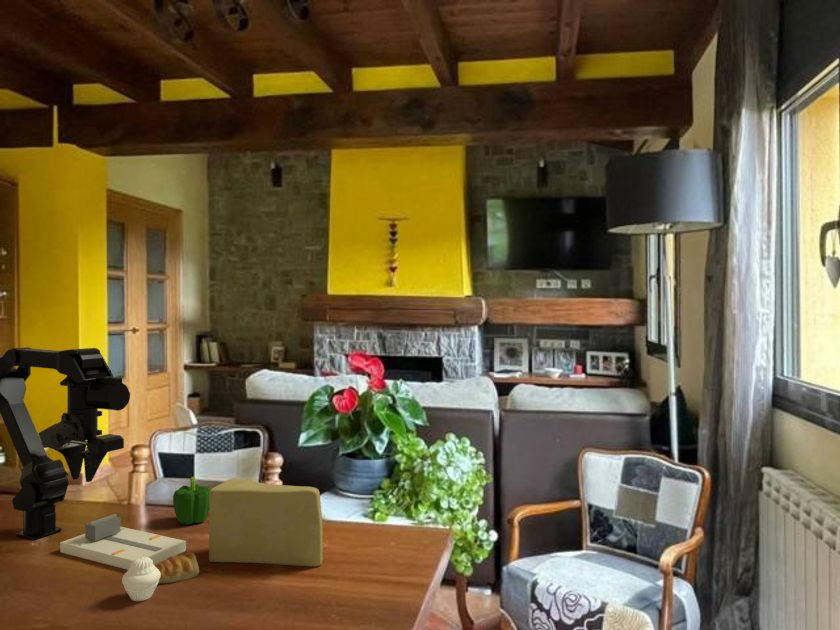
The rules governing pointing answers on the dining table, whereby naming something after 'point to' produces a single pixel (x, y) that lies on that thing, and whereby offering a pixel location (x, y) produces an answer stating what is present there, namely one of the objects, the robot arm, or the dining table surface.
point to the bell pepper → (191, 503)
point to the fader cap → (102, 527)
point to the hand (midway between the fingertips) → (82, 480)
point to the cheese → (265, 524)
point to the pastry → (178, 568)
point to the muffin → (141, 579)
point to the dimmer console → (124, 547)
